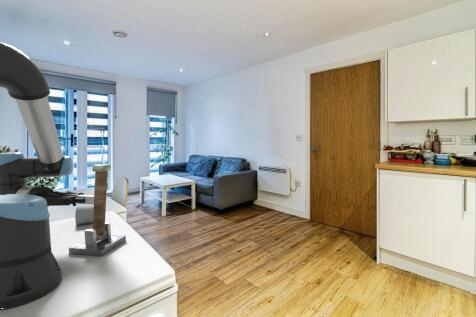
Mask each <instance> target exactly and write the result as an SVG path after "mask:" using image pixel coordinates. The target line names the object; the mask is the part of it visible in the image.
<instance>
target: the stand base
mask: <svg viewBox="0 0 476 317" xmlns="http://www.w3.org/2000/svg"><path fill="white" fill-rule="evenodd" d="M105 230H106V231H107V236H106V237H104V238H102V239H101V240H99V241H97V240H96V230H93V229H91V228H90V229H89V228H87V229H85V230H84V239H83V240H81V241H79V242H77V243H75V244H74V245H71V246H70V247H68V254H69V255H78V256H89V257H103V256H105V255H107V254H108V253H110V252H111V251H112V250H113V251H114V249H116V248H117V247H119V246H121V245H122V244H123V243H125V242H126V241H127V235H122V234H112V230H111V223H110V222H106V221H105Z"/></svg>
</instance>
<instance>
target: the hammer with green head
mask: <svg viewBox="0 0 476 317" xmlns="http://www.w3.org/2000/svg"><path fill="white" fill-rule="evenodd" d="M91 166H92V167H91V168H92V169H91V171H92V172H95V173H94V188H93V189H94V191H93V192H94V193H93V194H94V205H93V206H94V210H93V223H92V230H96V240H97V241H99V240H101V239H102V238H104V237H106V236H107V231H106V230H105V222H106V214H107V213H106V212H107V210H106V209H107V193H108V192H107V191H108V190H107V189H108V177H109V176H108V174H109V173H108V172H109V171H111V170H112V169H111V168H112V164H109V163H99V164H97V163H96V164H91Z"/></svg>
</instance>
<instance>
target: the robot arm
mask: <svg viewBox="0 0 476 317" xmlns="http://www.w3.org/2000/svg"><path fill="white" fill-rule="evenodd" d="M0 88H3V89H5V90H7V94H8V95H9V97H11V98H12V99H14V100H15V102H16V103H17V107H18V109H19V113H20V115H21V117H22V120H23V123H24V127H25V129H26V131H27V133H28V135H29V139H30V140H31V141H30V142H31V145H32V147H33V150H34V152H35V155H36V157H35V156H32V157H31V156H29V157H25V156H24V153H23V152H13V151H12V152H0V310H2V309H1V308H6V309H10V308H15V307H19V306H22V305H26V304H28V303H30V302H33V301H35V300H38V299H40V298H42V297H43V296H46V295H47V294H49V293H50V292H52V291H53V290H55V289H56V288H57V287H58V286H59V285H60V284H61V282H62V280H63V274H62V269H61V267H60V265H59V264H58V261H57V259H56V258H55V256H54V254H53V252H52V240H51V228H50V225H51V224H50V213H49V207H52V206H54V207H56V206H57V207H58V206H59V207H60V206H61V207H62V206H68V207H69V206H71V205H72V207H77V204H79V205H92V206H94V195H92V194H90V195H89V194H85V193H84V192H77V191H71V190H66V191H65V192H63V191H59V190H58V191H57V190H55V191H54V190H53V189H52V188H50V187H48V186H37V185H35V186H33V185H27V184H26V183H27V179H33V178H35V179H36V178H52V177H53V178H54V177H57V178H58V177H64V176H65V177H66V176H69V175H71V174H72V173H73V167H74V165H73V158H72V157H71V156H69V155H64V153H63V148H62V146H61V142H60V137H59V134H58V130H57V127H56V123H55V120H54V117H53V113H52V109H51V106H50V103H49V98H48V97H49V96H50V94H51V90H50V86H49V82H48V80H47V79H46V77H45V75H44V73H43V71H41V69H40V68H39V66H37V64H36V63H35V62H34V61H33V60H32V59H31V58H30V57H29V56H27V55H26V54H25V53H23V51H21V50H19V49H17V48H16V47H14V46H12V45H10V44H8V43H4V42H2V41H0Z"/></svg>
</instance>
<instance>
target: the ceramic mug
mask: <svg viewBox="0 0 476 317" xmlns="http://www.w3.org/2000/svg"><path fill="white" fill-rule="evenodd" d="M75 207H76V208H75V218H74V219H75V221H74V222H75V224H76V225H77V226H78V225H84V224H85V225H86V224H93V210H94V205H90V206H89V205H88V206H87V205H86V206H75Z"/></svg>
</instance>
